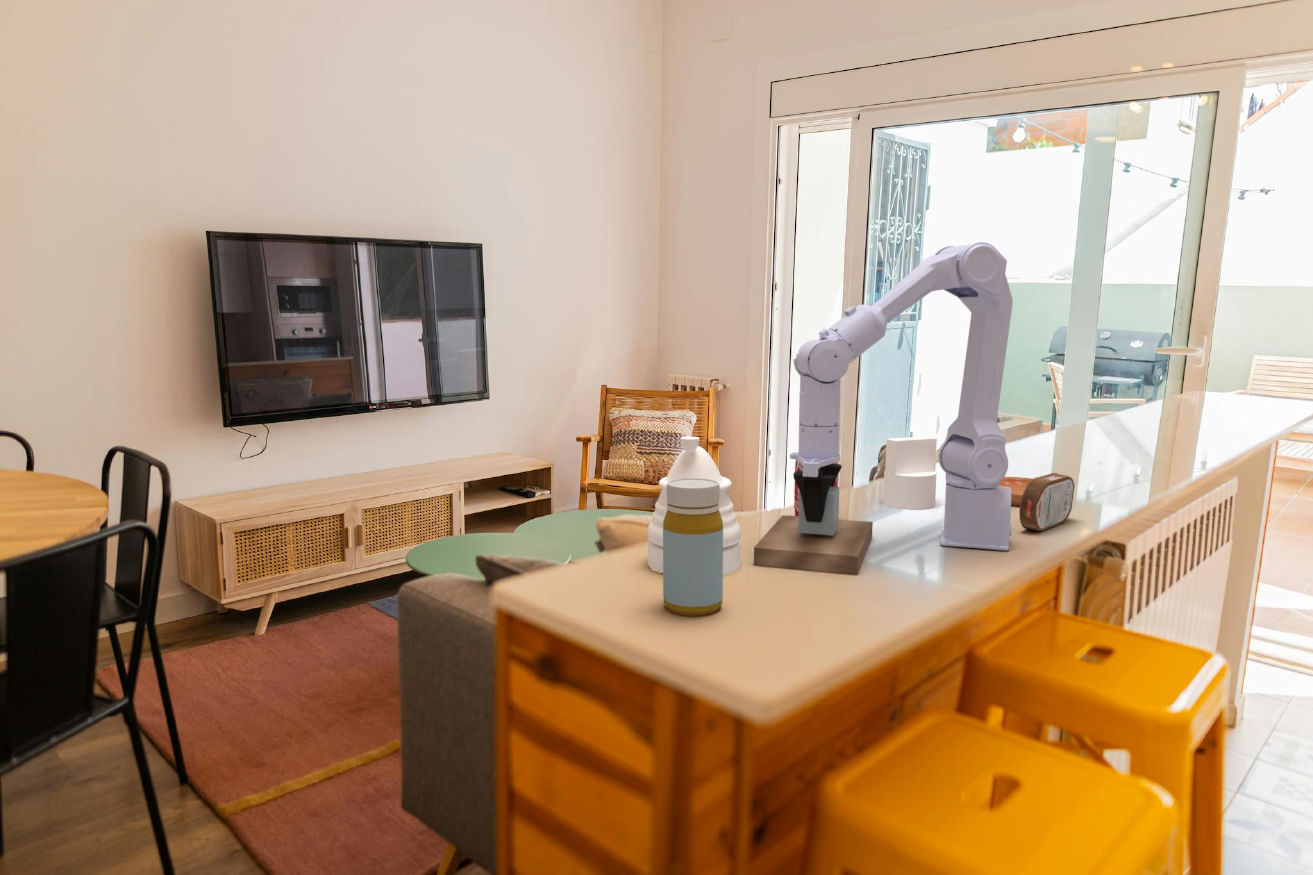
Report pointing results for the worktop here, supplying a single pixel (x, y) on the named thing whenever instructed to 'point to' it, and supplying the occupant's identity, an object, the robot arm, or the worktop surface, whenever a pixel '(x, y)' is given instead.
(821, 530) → the block
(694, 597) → the bottle
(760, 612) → the worktop surface
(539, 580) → the worktop surface
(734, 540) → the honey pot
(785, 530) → the plinth
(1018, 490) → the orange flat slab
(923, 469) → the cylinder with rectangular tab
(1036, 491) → the tin
